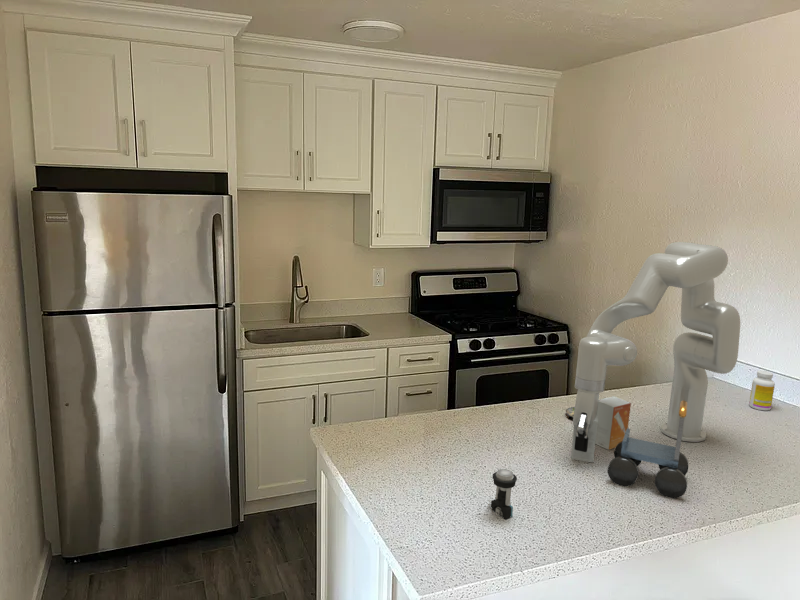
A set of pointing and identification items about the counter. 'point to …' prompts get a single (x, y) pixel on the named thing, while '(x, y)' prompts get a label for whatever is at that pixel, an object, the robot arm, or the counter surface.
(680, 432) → the trolley
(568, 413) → the burger
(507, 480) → the push button
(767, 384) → the supplement bottle
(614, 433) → the small box
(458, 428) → the counter surface
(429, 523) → the counter surface
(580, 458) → the skincare box
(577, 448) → the robot arm
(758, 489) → the counter surface
